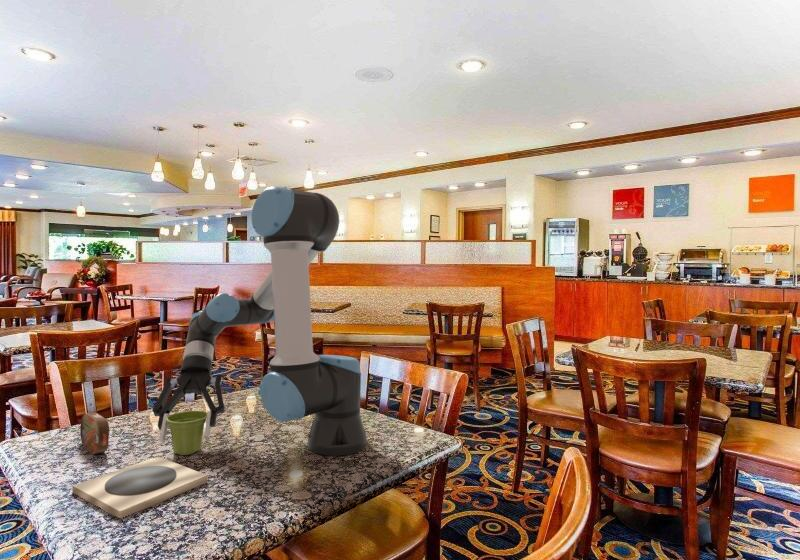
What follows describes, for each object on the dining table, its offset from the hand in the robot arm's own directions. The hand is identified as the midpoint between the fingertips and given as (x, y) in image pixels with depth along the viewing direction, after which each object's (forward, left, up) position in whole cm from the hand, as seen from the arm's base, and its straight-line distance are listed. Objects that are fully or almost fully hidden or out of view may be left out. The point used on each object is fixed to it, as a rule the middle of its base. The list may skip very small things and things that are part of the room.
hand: (184, 439), depth 115 cm
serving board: (-8, +15, -4) cm, 17 cm away
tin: (+22, +10, -4) cm, 25 cm away
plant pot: (+2, -2, -4) cm, 5 cm away
